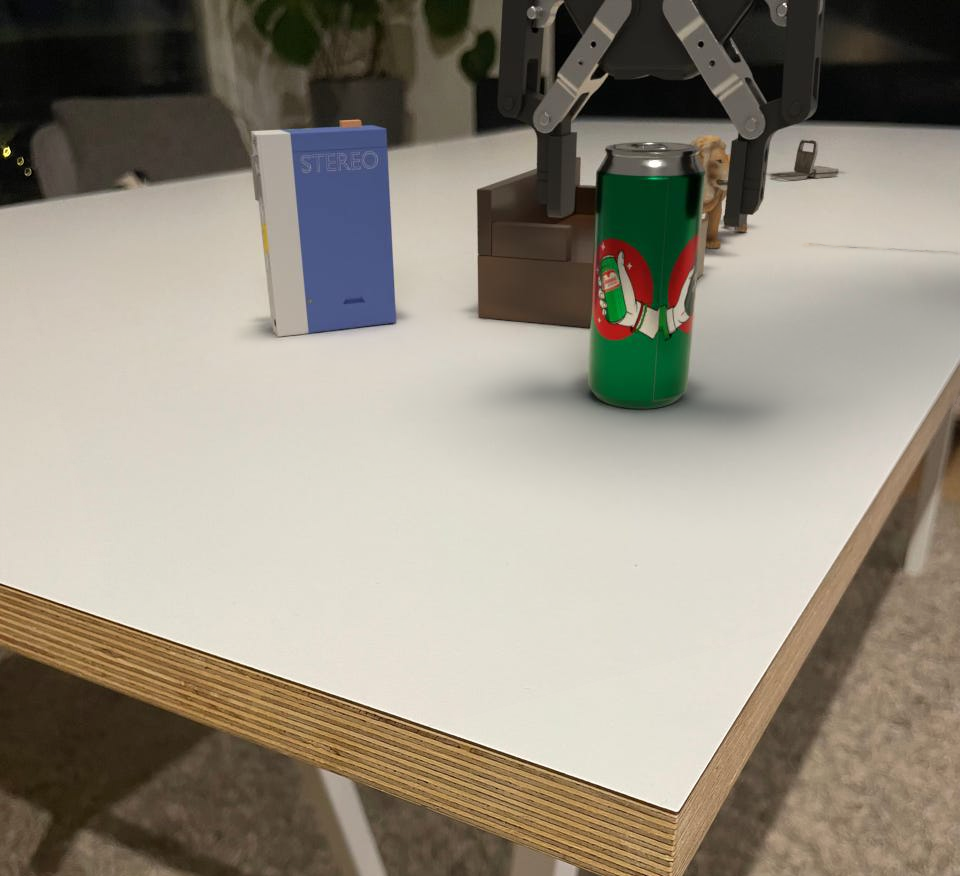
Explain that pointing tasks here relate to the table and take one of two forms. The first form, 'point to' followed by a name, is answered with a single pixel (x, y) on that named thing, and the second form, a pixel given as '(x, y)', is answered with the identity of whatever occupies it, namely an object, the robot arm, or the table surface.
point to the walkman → (325, 226)
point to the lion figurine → (714, 184)
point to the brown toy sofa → (538, 254)
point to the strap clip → (806, 165)
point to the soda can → (644, 272)
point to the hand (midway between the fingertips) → (644, 220)
